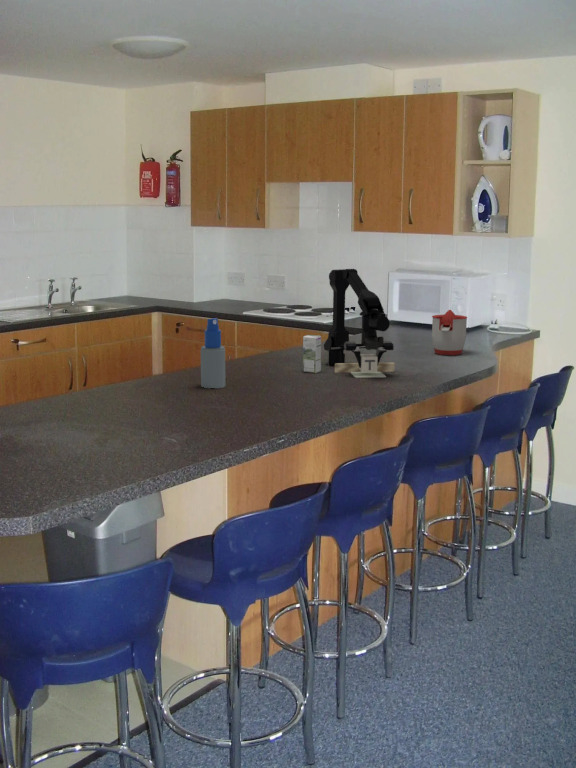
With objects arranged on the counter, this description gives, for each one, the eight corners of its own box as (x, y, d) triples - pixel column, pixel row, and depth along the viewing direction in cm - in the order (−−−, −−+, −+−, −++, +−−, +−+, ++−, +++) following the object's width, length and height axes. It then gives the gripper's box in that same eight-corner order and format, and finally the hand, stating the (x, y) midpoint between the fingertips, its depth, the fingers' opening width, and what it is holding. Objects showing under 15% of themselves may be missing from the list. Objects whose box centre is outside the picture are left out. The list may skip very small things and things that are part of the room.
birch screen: (335, 372, 349) (335, 364, 348) (334, 372, 350) (334, 363, 350) (394, 371, 352) (394, 363, 351) (393, 371, 353) (393, 362, 352)
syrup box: (321, 371, 353) (321, 335, 350) (315, 373, 347) (315, 337, 345) (308, 369, 355) (308, 334, 352) (302, 372, 350) (302, 336, 347)
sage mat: (355, 377, 339) (355, 376, 339) (350, 373, 348) (350, 372, 348) (385, 377, 340) (385, 376, 340) (380, 372, 350) (380, 371, 350)
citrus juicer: (426, 355, 390) (427, 311, 386) (434, 350, 406) (436, 307, 402) (461, 358, 385) (463, 312, 381) (468, 352, 400) (470, 308, 396)
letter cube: (362, 372, 340) (362, 357, 339) (359, 369, 346) (359, 354, 345) (377, 372, 341) (377, 356, 340) (374, 369, 347) (374, 354, 346)
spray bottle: (229, 387, 320) (228, 319, 315) (206, 389, 316) (205, 320, 311) (219, 382, 328) (219, 316, 323) (197, 385, 324) (196, 317, 319)
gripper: (349, 331, 332) (348, 371, 335) (397, 330, 334) (396, 371, 337) (344, 327, 343) (343, 366, 346) (390, 326, 345) (389, 365, 348)
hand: (368, 367), depth 344 cm, fingers open, 6 cm apart
